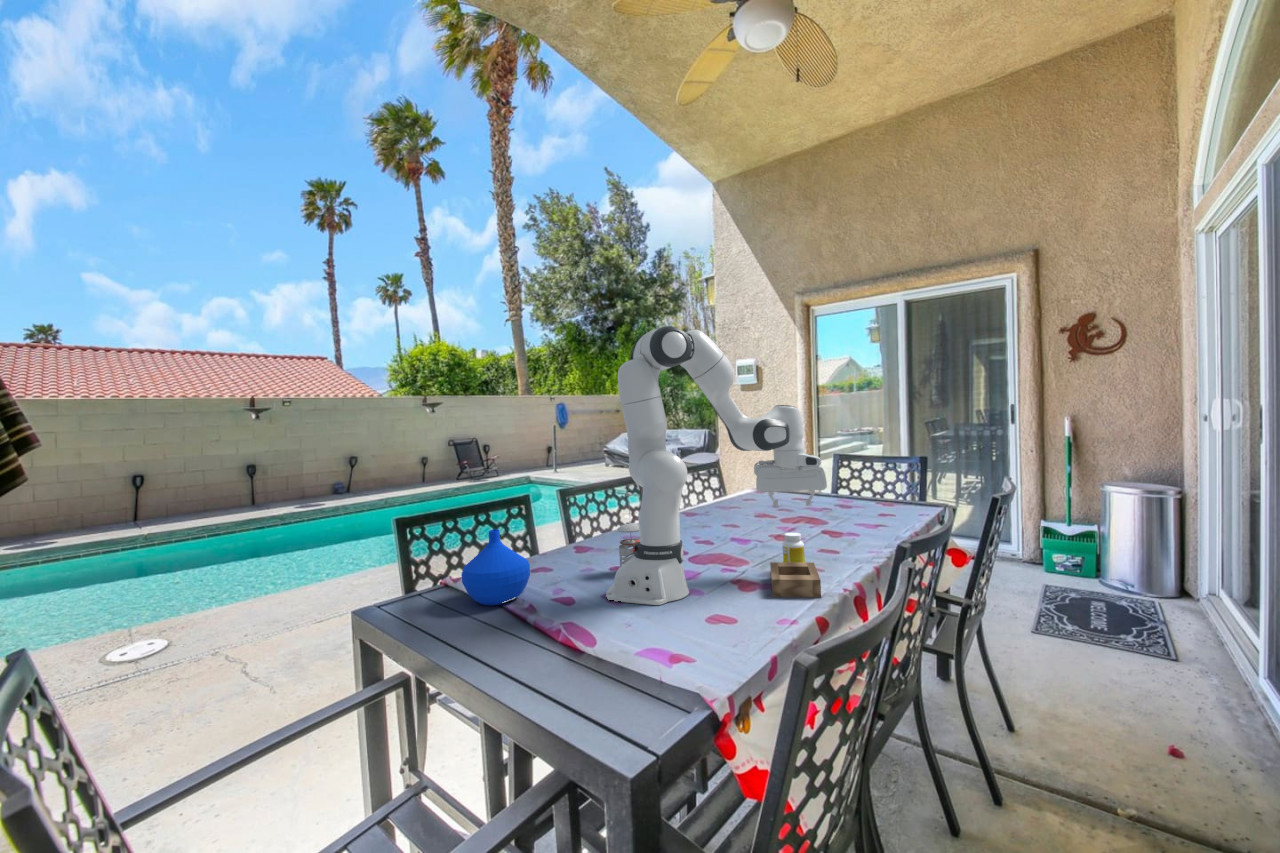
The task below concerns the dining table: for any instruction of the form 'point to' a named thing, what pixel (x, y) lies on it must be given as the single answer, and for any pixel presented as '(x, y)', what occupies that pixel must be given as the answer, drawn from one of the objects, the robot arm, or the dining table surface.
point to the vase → (495, 573)
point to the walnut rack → (795, 579)
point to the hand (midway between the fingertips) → (792, 505)
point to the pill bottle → (793, 548)
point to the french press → (627, 542)
